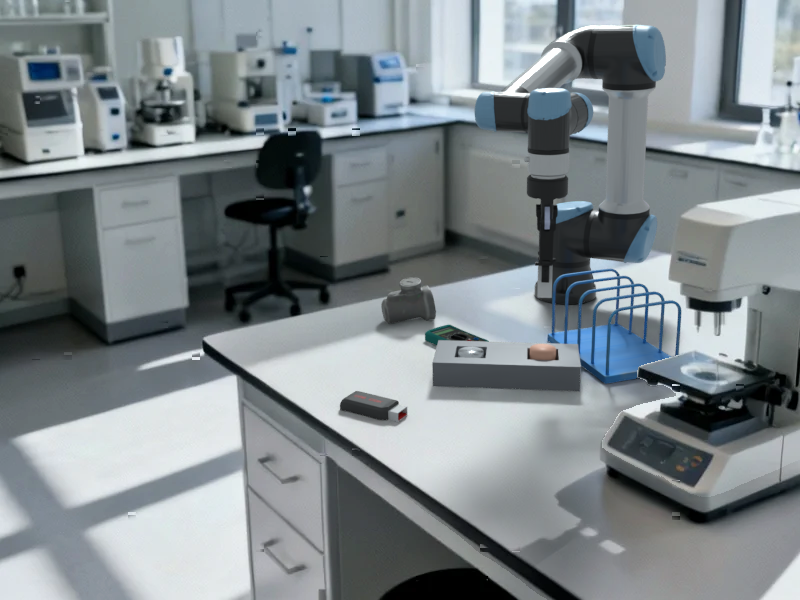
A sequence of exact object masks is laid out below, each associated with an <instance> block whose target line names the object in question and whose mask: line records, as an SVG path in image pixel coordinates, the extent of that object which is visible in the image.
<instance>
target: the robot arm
mask: <svg viewBox="0 0 800 600" xmlns="http://www.w3.org/2000/svg"><path fill="white" fill-rule="evenodd" d="M666 53H667V52H666V46H665V40H664V38H663V35H662V32H661V30H659V28H657V27H656V26H654V25H648V24H647V25H646V24H615V25H614V24H613V25H610V24H609V25H607V24H606V25H599V24H598V25H597V24H596V25H595V24H593V25H592V24H591V25H585V26H581V27H578V28H576V29H573V30H570V31H569V32H566V33H564V34H562V35H560V36H558V37H557V38H555V39H554V40H553V41H551V42H550V43H549V44H547V46H546V47H544V49H543V50H542V52H541V55H540V57H539V58H538V59H537V60H536V61H534V62H533V63H532V64H531V65H530V66H528V68H526V69H525V70H524V71H523V72H521V74H519V75H518V76H516V77H515V78H514V79H513V80H512V81H511V82H509V84H508V85H507V86H505V87H504V88H503V89H502V90H501V91H494V90H493V91H483V92H481V93H480V94H479V95H478V96H477V99H476V101H475V104H474V120H475V123H476V126H477V127H478V128H479V129H481V130H482V131H483V130H484V131H492V132H495V133H497V132H504V133H505V132H507V133H527V156H525V157H524V158H523V162H524V163H527V174H529V175H527V177H526V195H527V196H528V197H529V198H532V199H536V200H537V199H538V200H540V203H539V204H537V203H536V204H535V215H536V229H537V231H538V251H537V254H538V257H537V260H538V261H535V262H534V266H536V267H537V281H535V284H534V292H533V293H534V297H536V298H537V299H539V300H540V301H543V302H547V303H550V304H552V297H553V285H554V282H555V280H556V279H557V278H558V277H559V276H561V275H564V274H570V273H577V272H584V271H592V269H591V259H596V260H605V261H613V262H619V263H620V262H621V263H623V264H627V263H631V264H632V263H633V264H640V263H643V262H644V261H646V260H647V258H648V257H649V255H650V253H651V250H652V248H653V245H654V244H655V243H654V242H655V239H656V236H657V235H656V234H657V230H658V219H657V218H658V217H657V216H656V215H654V214H650V209H651V207H650V204H649V203H648V202H647V201H646V200H645V199H644V195H645V194H644V192H645V175H646V174H645V171H646V148H647V133H648V132H647V127H648V126H647V125H648V109H649V108H648V107H649V105H648V104H649V96H650V94H651V93H652V92H653V91H654V90H655V89H656V84H657V82H659V81H662V79H663V78H664V76H665V72H666V62H667V61H666V60H667V59H666V58H667V57H666ZM577 79H590V80H591V79H593V80H602V81H601V82H602V84H601V85H602V88H601V89H602V90H603V91H604V92H605V94H607V97H608V111H607V113H608V114H607V115H608V116H607V119H608V120H607V149H606V150H607V151H606V176H605V178H606V179H605V183H606V184H605V198H604V199H603V201H602V202H601V203H599V205H598V209H594V205H593V203H592V202H590V201H585V200H584V201H582V200H576V201H566V202H560V203H555V204H554V200H556V199H563V198H565V197H567V195H569V194H568V193H569V177H568V174H569V171H570V139H571V137H570V136H572V135H576V134H577V133H580V132H582V131H583V130H584V129H586V128H587V127H588V126H589V125H590V123H591V122H592V120H593V117H594V106H593V104H592V102H591V100H590V98H589V97H588V96H587V95H585V94H583V93H581V92H570V91H569V89H567V88H561V87H562V86H563V85H565V84H569V83H572V82H574V81H575V80H577ZM593 279H594V276H593V273H591V274H583V275H576V276H569V277H564V278H562V279H560V280H559V281H558V283H557V285H556V294H555V304H561V305H565V296H566V291H567V289H568V288H569V286H570V285H571V284H573V283H575V282H578V281H585V280H593ZM593 289H597V285H596V283H595V282H593V283H586V284H579V285H576V286H574V287H573V288H572V289H571V290H570V292H569V298H568V305H576V304H577V305H579V300H580V298H581V296H582V295H583V294H584V293H585V292H586V291H588V290H593ZM596 295H597V292H594V293H590V294H588V295H586V296H585V297H584V299H583V301H582V304H584V303H588V302H592V301H593V300H594V299H596V297H597V296H596Z"/></svg>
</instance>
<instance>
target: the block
mask: <svg viewBox="0 0 800 600" xmlns="http://www.w3.org/2000/svg"><path fill="white" fill-rule="evenodd" d="M535 344H549V345H552V346H554V347H555V348H556V360H530V347H531V346H532V345H535ZM463 347H478V348H481V349H483V351H484V358H464V357H458V350H459V349H461V348H463ZM434 351H435V352H434V355H433V359H432V364H431V365H432V387H436V388H437V387H441V388H444V387H445V388H465V389H466V388H467V389H468V388H469V389H494V390H495V389H498V390H499V389H501V390H502V389H503V390H522V391H523V390H525V391H527V390H529V391H530V390H531V391H553V392H555V391H556V392H557V391H559V392H580V391H581V374H582V373H581V372H582V366H581V364H580V356H579V348H578V344H557V343H550V342H549V343H548V342H520V341H519V342H517V341H515V342H513V341H489V342H486V341H450V340H438V344H437V345H436V349H435V350H434Z"/></svg>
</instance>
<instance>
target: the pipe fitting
mask: <svg viewBox="0 0 800 600" xmlns="http://www.w3.org/2000/svg"><path fill="white" fill-rule="evenodd" d="M399 288H400V289H399V290H396V291H390V292H389V293H388V294H387V297H386V298H384V299H383V300H382V302H381V312H382V318H383V319H384V322H385V323H387V324H388V325H391V324H396V323H400V322H405V321H409V320H415V319H419V318H420V319H422V320H424V321H433V320H436V318H437V316H436V315H437V310H436V304H435V299H434V295H433V292H432V289H431V287H430V286H429V285H423V286H422V280H421V278H419V277H412V276H411V277H406V278H403V279H401V280H400V281H399Z"/></svg>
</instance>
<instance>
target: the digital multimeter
mask: <svg viewBox="0 0 800 600" xmlns="http://www.w3.org/2000/svg"><path fill="white" fill-rule="evenodd" d="M438 340H450V341H486V342H490V341H489V340H488V339H485V338H483V337H480V336H478V335H475V334H473V333H470V332H468V331H466V330H463V329H460V328H459V327H457V326H454V325H452V324H444V325H440V326H437V327H434V328H431V329H428V330H427V331H425V332H424V341H425V342H427V343H430V344H432V345H435V346H437V344H438Z"/></svg>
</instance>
